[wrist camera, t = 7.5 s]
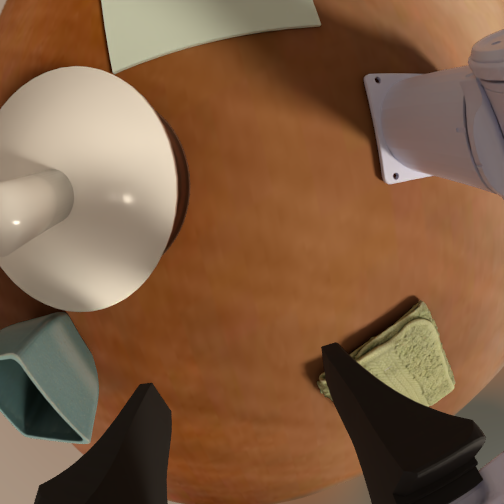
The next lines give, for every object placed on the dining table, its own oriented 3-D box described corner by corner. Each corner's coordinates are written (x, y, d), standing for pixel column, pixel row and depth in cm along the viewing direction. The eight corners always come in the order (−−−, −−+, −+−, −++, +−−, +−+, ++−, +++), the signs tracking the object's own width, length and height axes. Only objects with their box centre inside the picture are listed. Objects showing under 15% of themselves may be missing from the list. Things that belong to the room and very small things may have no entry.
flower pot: (11, 305, 20) (-40, 361, 12) (71, 284, 20) (14, 353, 12) (56, 375, 23) (24, 438, 15) (119, 367, 23) (93, 445, 15)
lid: (155, 34, 10) (120, -16, 5) (204, 285, 14) (197, 354, 10) (-28, 126, 9) (-88, 133, 5) (24, 313, 14) (-18, 362, 9)
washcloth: (417, 288, 23) (436, 305, 20) (450, 372, 29) (462, 387, 26) (303, 373, 26) (311, 397, 23) (370, 430, 31) (378, 447, 28)
